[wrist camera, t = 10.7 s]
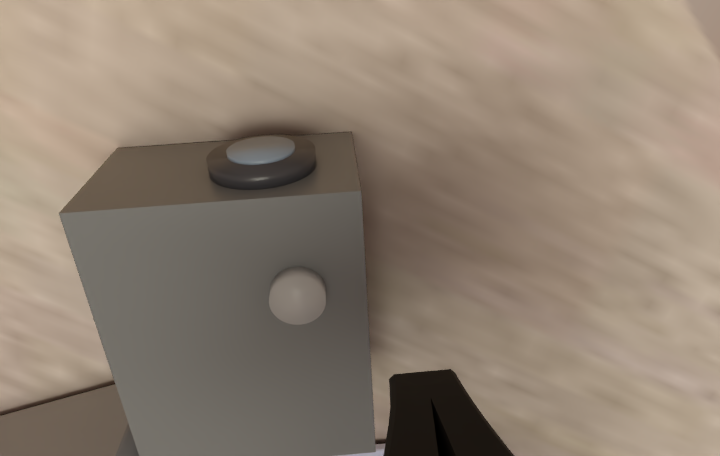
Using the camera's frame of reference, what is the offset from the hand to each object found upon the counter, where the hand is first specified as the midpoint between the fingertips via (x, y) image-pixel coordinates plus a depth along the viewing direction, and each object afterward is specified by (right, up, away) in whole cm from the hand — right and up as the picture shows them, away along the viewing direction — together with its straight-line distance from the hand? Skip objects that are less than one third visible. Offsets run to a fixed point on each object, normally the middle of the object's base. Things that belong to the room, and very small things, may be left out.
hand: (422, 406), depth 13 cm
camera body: (-5, +2, +9) cm, 11 cm away
